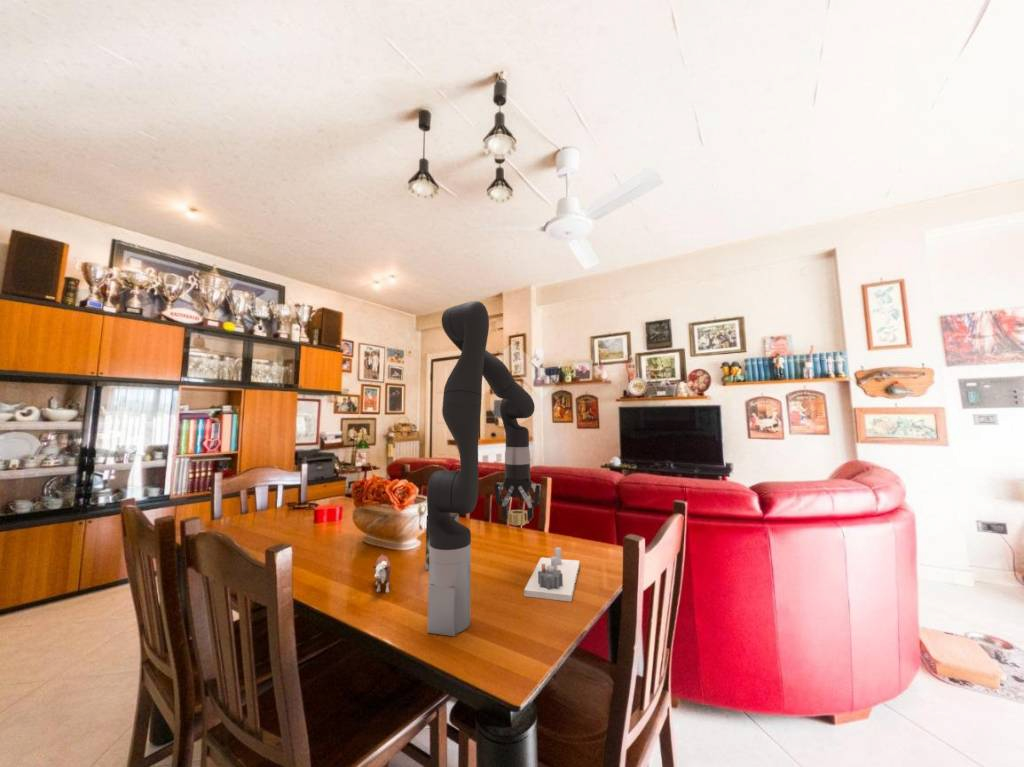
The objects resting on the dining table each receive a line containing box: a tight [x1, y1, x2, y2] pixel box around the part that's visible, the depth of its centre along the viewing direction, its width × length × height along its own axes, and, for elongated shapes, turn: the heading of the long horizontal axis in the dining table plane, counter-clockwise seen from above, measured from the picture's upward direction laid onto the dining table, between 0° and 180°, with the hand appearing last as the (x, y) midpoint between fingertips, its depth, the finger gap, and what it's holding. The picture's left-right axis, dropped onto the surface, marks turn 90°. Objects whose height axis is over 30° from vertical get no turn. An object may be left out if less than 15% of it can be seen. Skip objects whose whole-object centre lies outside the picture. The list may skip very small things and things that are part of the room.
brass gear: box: [506, 509, 530, 527], centre depth 111 cm, size 6×6×3 cm
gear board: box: [523, 546, 581, 603], centre depth 107 cm, size 24×12×6 cm, turn 165°
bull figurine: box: [373, 554, 392, 594], centre depth 102 cm, size 4×13×8 cm, turn 15°
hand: (517, 519), depth 111 cm, fingers closed on brass gear, 6 cm apart
